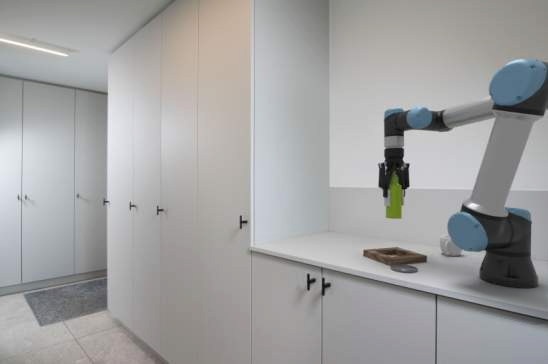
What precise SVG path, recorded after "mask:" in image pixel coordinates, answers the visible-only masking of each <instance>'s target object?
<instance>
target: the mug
mask: <svg viewBox="0 0 548 364" xmlns="http://www.w3.org/2000/svg"><path fill="white" fill-rule="evenodd" d="M439 246H440V250H441V253H442V254H443V255H445V256H449V257H459V256H460V255H461V254H462V251H463V250H462V249H460V248H459V247H457V246H456V245H455V244H454V243H453V242H452V240H451V237H450V236H449V234H442V235H441V236H440V237H439Z"/></svg>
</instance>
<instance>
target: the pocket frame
mask: <svg viewBox="0 0 548 364" xmlns="http://www.w3.org/2000/svg"><path fill="white" fill-rule="evenodd" d="M362 255H363V257H366V258H367V259H368V258H369V259H372V260H374V261H376V262H379V263H381V264H384V265H386V266H390V267H391V266H392V265H397V264H402V265H414V264H419V263H421V264H423V263H427V262H428V260H427V259H428V255H426V254H422V253H419V252H415V251H412V250H408V249H404V248H402V247H398V246H393V247H383V248H382V247H381V248H380V247H379V248H370V249H363V254H362Z"/></svg>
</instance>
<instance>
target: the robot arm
mask: <svg viewBox="0 0 548 364" xmlns="http://www.w3.org/2000/svg"><path fill="white" fill-rule="evenodd" d="M547 110H548V62H547V61H543V60H542V61H541V60H539V59H532V58H531V59H530V58H528V59H527V58H519V59H514V60H511V61H509V62H507V63H506V64H505V65H503V66H502V67H500V68H499V69H498V70H497V71H496V72H495V73H494V75H493V76H492V77H491V80H490V82H489V85H488V95H487V96H484V97H480V98H477V99H474V100H470V101H468V102H463V103H462V104H461V103H460V104H457V105H455V106H452V107H448V108H446V109H442V110H437V111H436V110H430V109H429V108H427V106H420V107H415V108H411V109H408V110H404V109H403V108H402V107H392V108H387V109H386V110H385V111H384V115H383V134H384V135H383V143H384V144H383V147H384V150H383V157H384V161H383V162H379V163H378V164H377V165H378V169H379V170H378V183H377V184H378V188H380V189H381V190H382V197H383V198H384V199H383V202H384V204H383V205H384V206H385V207H386V206H390V190H388V188H389V185H390V181H391V177H392V173H393V172H394V171H396V176H398V185H401V186H402V207H403V206H405V197H406V190H408V188H410V185H411V184H410V166H411V165H410V163H409V162H404V157H405V148H404V147H405V132H408V131H414V130H415V131H425V132H426V131H430V132H439V133H444V132H450V131H452V130H453V129H455V128H458V127H464V126H466V125H470V124H475V123H480V122H484V121H487V120H492V119H494V121H493V126H492V128H491V131H490V135H489V137H488V142H487V144H486V147H485V151H484V153H483V156H482V160H481V163H480V167H479V169H478V173H477V175H476V178H475V183H474V186H473V188H472V191H471V195H470V197H469V198H467V199H466V200H463V201H462V204H461V207H460V210H459V211H457V212H455V213H454V214H451V216H450V217H449V219H448V222H447V223H446V224H447V227H446V228H447V233H448V234H447V235H449V236H450V237H451V240H452V242H453V243H454V244H455V245H456V246H457V247H459V248H460V249H462V251H464V252H471V253H472V252H475V253H480V252H483V251H485V253H484V258H483V260H482V262H481V264H480V267H479V270H478V271H479V272H478V273H479V275H478V276H479V278H480V279H481V280H484V281H485V282H488V283H491V284H495V285H499V286H504V287H512V288H519V289H520V288H523V289H524V288H527V289H529V288H536V287H538V286H539V276H538V274H537V271H536V268H535V266H534V263H533V261H532V225H533V221H532V215H531V214H532V213H531V212H530V211H529V210H528V209H525V208H524V209H523V208H517V207H509V206H506V203H507V199H508V197H509V195H510V191H511V188H512V186H513V182H514V180H515V177H516V174H517V172H518V168H519V166H520V163H521V160H522V157H523V155H524V151H525V148H526V146H527V143H528V141H529V137H530V133H532V129H533V126H534V123H536V122H537V121H539V120H541V119H543V118H544V116H545V113H546V111H547ZM397 168H399V170H397ZM401 168H402V169H404V170H401Z"/></svg>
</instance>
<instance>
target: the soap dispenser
mask: <svg viewBox="0 0 548 364" xmlns="http://www.w3.org/2000/svg"><path fill="white" fill-rule="evenodd" d="M402 168H403V167H402ZM402 168H401V170H404V169H402ZM397 170H399V168H397ZM388 190H390V206H385V218H386V219H392V220H393V219H394V220H395V219H402V217H403V216H402V214H403V213H402V211H403V210H402V207H403V206H402V186H401V185H399V184H398V176H396V171H394V172H393V173H392V177H391V181H390V185H389V188H388Z"/></svg>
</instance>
